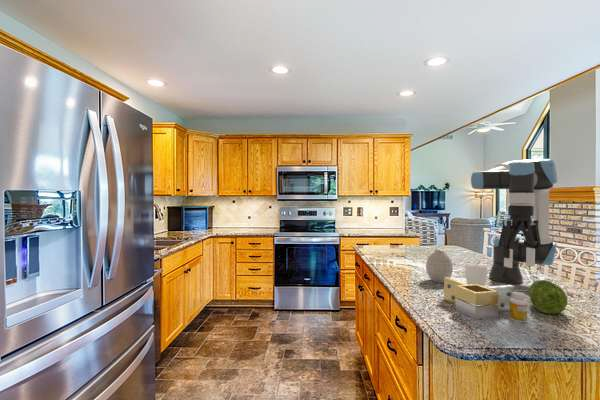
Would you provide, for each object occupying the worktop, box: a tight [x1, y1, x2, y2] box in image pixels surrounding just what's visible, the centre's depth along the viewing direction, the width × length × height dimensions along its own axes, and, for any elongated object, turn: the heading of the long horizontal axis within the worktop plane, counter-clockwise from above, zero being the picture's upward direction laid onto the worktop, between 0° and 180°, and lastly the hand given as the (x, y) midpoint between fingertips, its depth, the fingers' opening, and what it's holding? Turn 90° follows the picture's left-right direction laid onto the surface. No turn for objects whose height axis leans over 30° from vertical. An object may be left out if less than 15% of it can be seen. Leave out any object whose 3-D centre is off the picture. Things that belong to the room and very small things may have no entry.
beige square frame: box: [443, 277, 498, 306], centre depth 126 cm, size 10×22×10 cm, turn 15°
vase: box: [425, 248, 454, 284], centre depth 164 cm, size 13×13×17 cm
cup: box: [464, 263, 488, 287], centre depth 148 cm, size 9×9×12 cm
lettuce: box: [528, 279, 568, 315], centre depth 126 cm, size 12×21×11 cm, turn 151°
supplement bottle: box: [508, 291, 529, 323], centre depth 114 cm, size 5×5×10 cm
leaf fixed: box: [454, 284, 516, 320], centre depth 122 cm, size 22×10×10 cm, turn 105°
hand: (519, 266), depth 114 cm, fingers open, 9 cm apart
